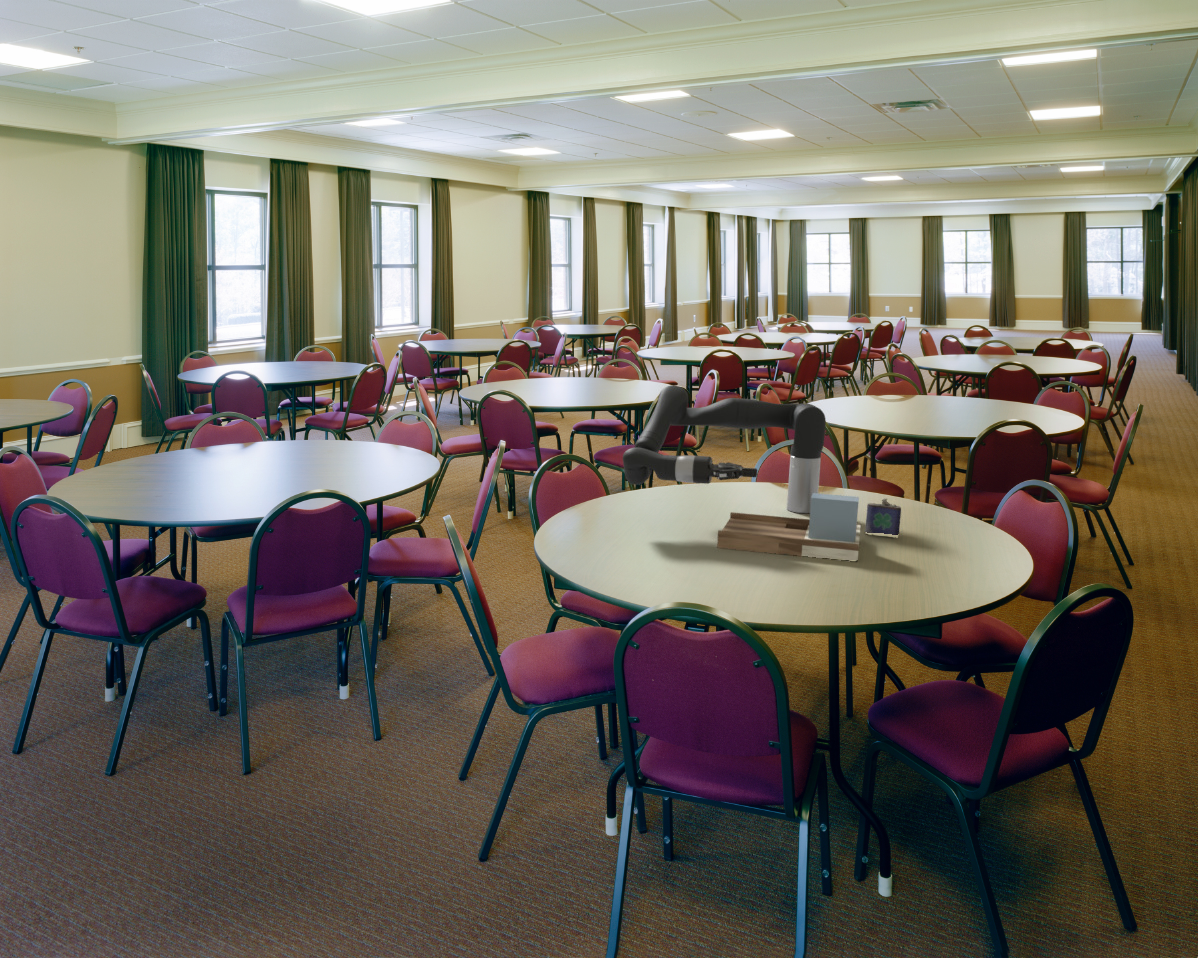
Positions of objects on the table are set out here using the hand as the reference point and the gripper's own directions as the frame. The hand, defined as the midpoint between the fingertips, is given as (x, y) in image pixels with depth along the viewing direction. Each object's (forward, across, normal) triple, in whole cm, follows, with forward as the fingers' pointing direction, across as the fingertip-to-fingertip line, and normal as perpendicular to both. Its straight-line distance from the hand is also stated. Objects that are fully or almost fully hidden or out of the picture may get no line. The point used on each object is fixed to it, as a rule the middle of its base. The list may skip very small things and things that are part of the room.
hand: (756, 472), depth 240 cm
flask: (+34, +18, +20) cm, 43 cm away
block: (+21, 0, +16) cm, 26 cm away
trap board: (+10, 0, +19) cm, 21 cm away
